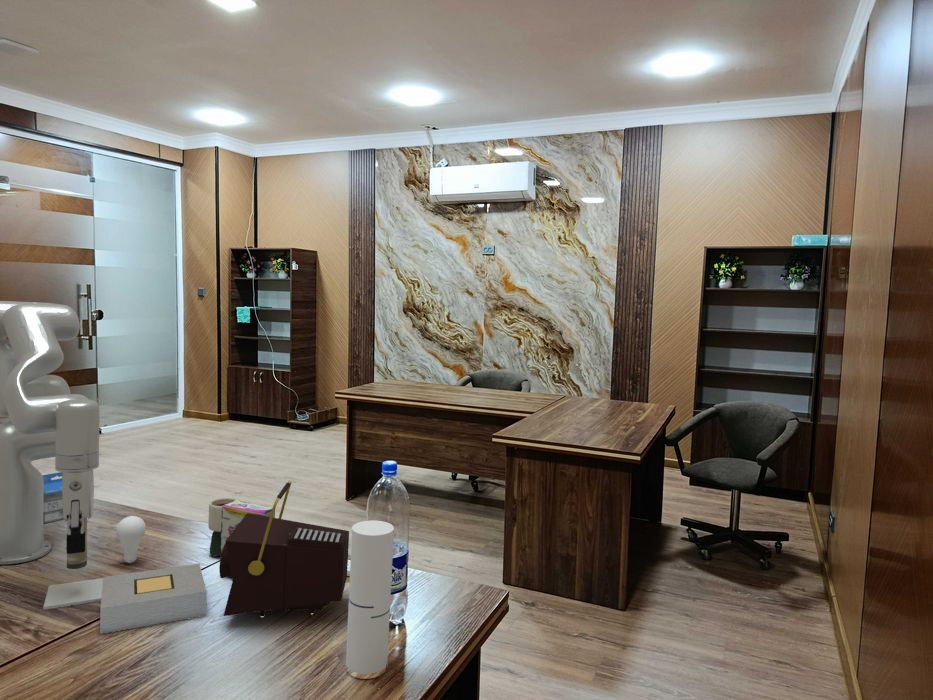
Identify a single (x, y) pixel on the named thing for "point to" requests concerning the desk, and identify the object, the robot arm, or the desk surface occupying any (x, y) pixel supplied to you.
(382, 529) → the cylindrical container
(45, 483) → the ink cartridge box
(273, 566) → the dark brown boxy piece
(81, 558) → the beige cylinder
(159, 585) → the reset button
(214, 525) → the character mug
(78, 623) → the desk surface
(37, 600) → the desk surface
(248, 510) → the candy bar box
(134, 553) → the lightbulb
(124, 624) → the breaker box
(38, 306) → the robot arm
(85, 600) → the mat
